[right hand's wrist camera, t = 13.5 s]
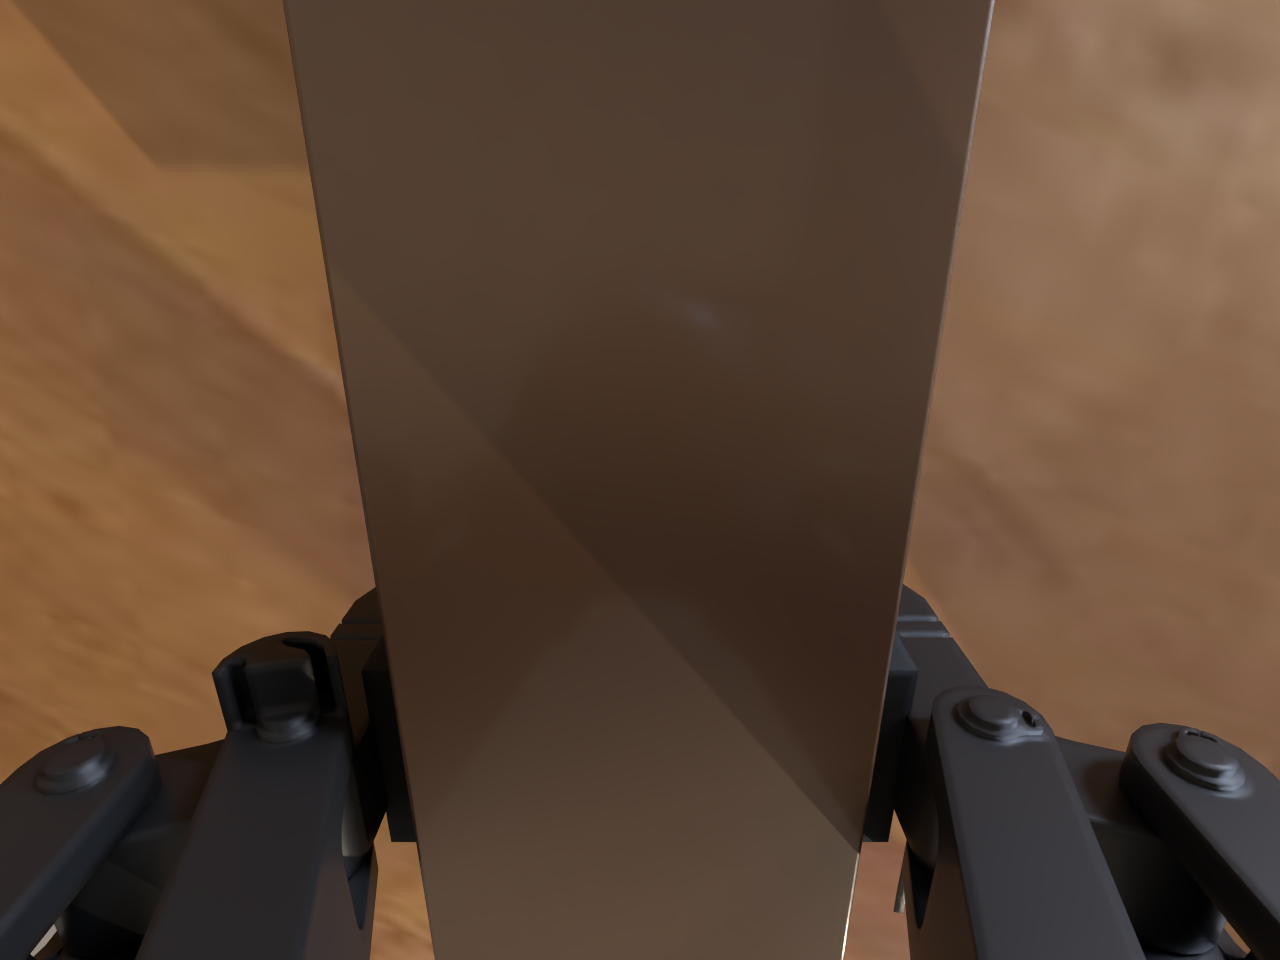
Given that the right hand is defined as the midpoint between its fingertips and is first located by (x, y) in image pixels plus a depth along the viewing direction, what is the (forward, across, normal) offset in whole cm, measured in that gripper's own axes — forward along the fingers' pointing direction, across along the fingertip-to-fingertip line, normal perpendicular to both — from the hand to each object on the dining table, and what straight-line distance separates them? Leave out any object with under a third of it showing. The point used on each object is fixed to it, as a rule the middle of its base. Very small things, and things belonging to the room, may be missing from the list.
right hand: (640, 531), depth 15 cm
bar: (+1, 0, -21) cm, 21 cm away
